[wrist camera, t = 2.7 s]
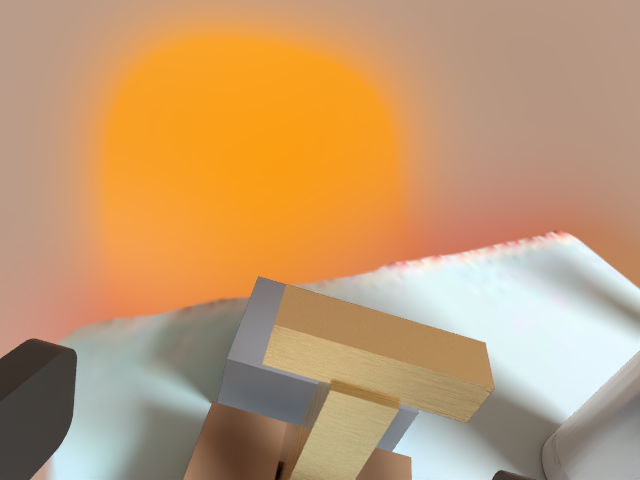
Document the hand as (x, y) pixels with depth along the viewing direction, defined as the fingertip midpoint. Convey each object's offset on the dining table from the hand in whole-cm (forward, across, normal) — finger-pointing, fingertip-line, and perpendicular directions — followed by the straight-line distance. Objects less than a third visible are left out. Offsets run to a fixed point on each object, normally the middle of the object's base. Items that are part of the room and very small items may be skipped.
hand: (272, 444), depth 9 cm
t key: (+16, -2, +20) cm, 26 cm away
